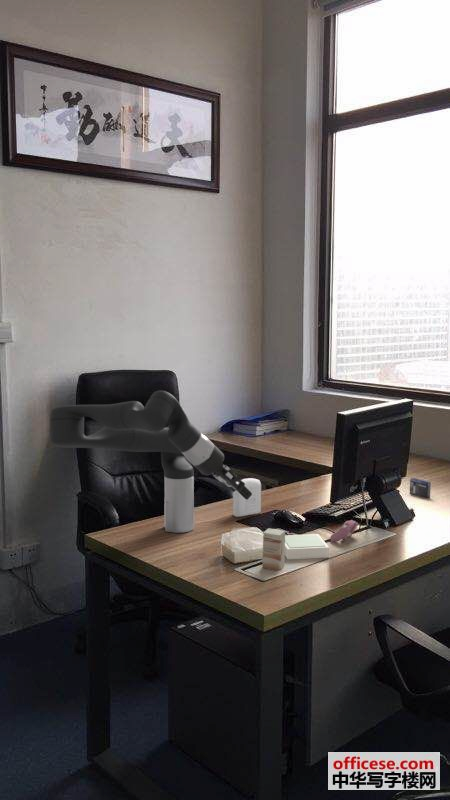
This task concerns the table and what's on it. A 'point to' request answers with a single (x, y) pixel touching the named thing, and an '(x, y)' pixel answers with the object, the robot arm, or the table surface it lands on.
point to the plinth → (305, 547)
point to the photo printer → (248, 505)
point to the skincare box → (273, 549)
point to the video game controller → (344, 531)
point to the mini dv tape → (420, 487)
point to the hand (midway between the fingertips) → (242, 492)
